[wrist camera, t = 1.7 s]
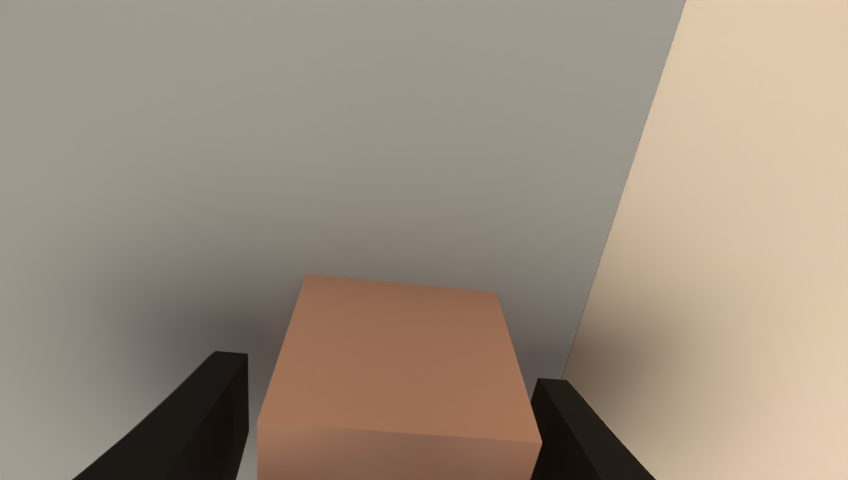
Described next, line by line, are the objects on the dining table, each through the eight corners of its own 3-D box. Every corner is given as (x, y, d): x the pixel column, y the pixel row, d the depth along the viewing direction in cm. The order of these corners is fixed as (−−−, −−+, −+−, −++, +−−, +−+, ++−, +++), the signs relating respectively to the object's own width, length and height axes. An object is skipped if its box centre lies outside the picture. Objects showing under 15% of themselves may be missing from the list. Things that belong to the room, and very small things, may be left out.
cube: (464, 429, 13) (488, 604, 9) (299, 417, 12) (257, 595, 9) (496, 292, 11) (542, 442, 7) (306, 273, 11) (256, 422, 7)
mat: (500, 552, 15) (501, 558, 15) (-253, 514, 13) (-262, 521, 13) (822, -436, 6) (834, -448, 6) (-1235, -960, 5) (-1303, -998, 4)
